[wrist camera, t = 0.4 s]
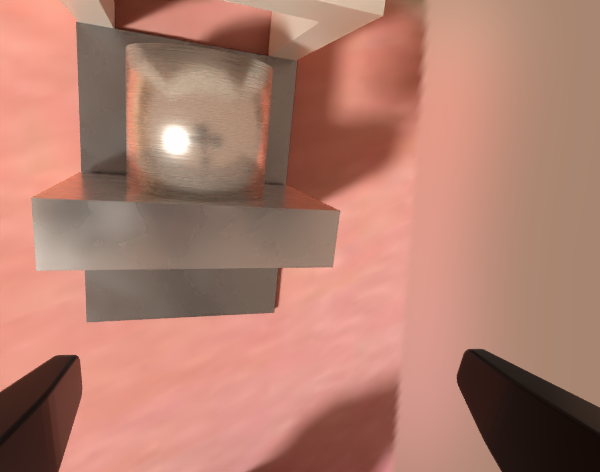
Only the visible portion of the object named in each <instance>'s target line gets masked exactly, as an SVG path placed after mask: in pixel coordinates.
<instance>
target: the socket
mask: <svg viewBox="0 0 600 472" xmlns="http://www.w3.org/2000/svg"><path fill="white" fill-rule="evenodd" d="M60 1H61V2H62V3H63V4H64V5H65V7H66V8H67V9H68V10H69V11H70V13H71V14H72V15H73V16H74V17H75V18H76V20H77V21H78V22H81V23H86V24H92V25H98V26H103V27H109V28H114V29H115V5H114V0H60ZM222 1H227V2H232V3H236V4H241V5H245V6H250V7H255V8H259V9H264V10H268V11H272V14H271V28H270V41H269V54H268V56H272V57H278V58H284V59H289V60H295V61H296V60H298V59H300V58H302V57H304V56H306V55H308V54H310V53H312V52H314V51H316V50H318V49H320V48H322V47H323V46H325V45H327V44H329V43H331V42H333V41H335V40H337V39H339V38H341V37H343V36H345V35H347V34H349V33H351V32H353V31H355V30H357V29H359V28H361V27H363V26H365V25H367V24H368V23H370V22H372V21H374V20H376V19H378V18H380V17H382V16H383V14H384V7H385V0H222Z"/></svg>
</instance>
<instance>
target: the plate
mask: <svg viewBox="0 0 600 472" xmlns="http://www.w3.org/2000/svg"><path fill="white" fill-rule="evenodd" d="M76 29H77V58H78V86H79V115H80V143H81V172H82V173H95V174H111V175H126V46H127V45H130V44H134V43H171V44H181V45H190V46H197V47H204V48H210V49H215V50H220V51H225V52H230V53H234V54H238V55H242V56H246V57H249V58H252V59H255V60H258V61H261V62H263V63H265V64H267V65H269V66H271V67H272V68H273V78H272V91H271V104H270V116H269V129H268V142H267V154H266V167H265V180H264V184H270V185H286V179H287V168H288V157H289V146H290V136H291V125H292V114H293V103H294V93H295V82H296V71H297V61H295V60H289V59H284V58H278V57H272V56H267V55H261V54H255V53H250V52H244V51H238V50H233V49H227V48H222V47H216V46H210V45H205V44H199V43H193V42H188V41H182V40H176V39H171V38H165V37H160V36H154V35H148V34H143V33H137V32H131V31H126V30H120V29H114V28H109V27H103V26H98V25H92V24H86V23H81V22H76ZM277 276H278V268H226V269H139V270H85V286H86V314H87V322H101V321H121V320H140V319H159V318H179V317H198V316H218V315H237V314H257V313H274V308H275V297H276V287H277Z"/></svg>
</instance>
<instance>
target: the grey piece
mask: <svg viewBox="0 0 600 472" xmlns="http://www.w3.org/2000/svg"><path fill="white" fill-rule="evenodd" d="M272 78H273V68H272V67H271V66H269V65H267V64H265V63H263V62H261V61H258V60H255V59H252V58H249V57H246V56H242V55H238V54H234V53H230V52H225V51H220V50H215V49H210V48H204V47H197V46H190V45H181V44H171V43H134V44H130V45H127V46H126V175H111V174H95V173H78V174H76V175H74V176H72V177H70V178H68V179H66V180H64V181H62V182H61V183H59V184H57V185H55V186H53V187H51V188H49V189H47V190H45V191H43V192H42V193H40V194H38V195H36V196H34V197H32V198H31V199H32V214H33V229H34V244H35V259H36V271H52V270H139V269H226V268H313V267H333V262H334V254H335V246H336V238H337V230H338V223H339V215H340V211H339V210H337V209H335V208H333V207H331V206H329V205H327V204H325V203H323V202H321V201H319V200H317V199H315V198H313V197H311V196H309V195H306V194H304V193H302V192H300V191H298V190H296V189H294V188H292V187H290V186H286V185H270V184H264V180H265V167H266V154H267V142H268V129H269V116H270V104H271V91H272Z"/></svg>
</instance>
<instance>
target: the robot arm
mask: <svg viewBox="0 0 600 472" xmlns="http://www.w3.org/2000/svg"><path fill="white" fill-rule="evenodd" d="M457 383H458V386H459V388H460V390H461V393H462V395H463V397H464V399H465V401H466V403H467V405H468V408H469V410H470V412H471V414H472V416H473V418H474V420H475V423H476V425H477V427H478V429H479V431H480V433H481V435H482V437H483V439H484V441H485V443H486V445H487V447H488V449H489V450H490V452H491V454H492V456H493V457H494V459H495V461H496V463H497V464H498V466H499V468H500V470H501V471H502V472H600V407H598V406H596V405H594V404H592V403H590V402H588V401H586V400H584V399H582V398H580V397H578V396H575V395H574V394H572V393H570V392H568V391H566V390H564V389H562V388H560V387H558V386H555V385H553V384H552V383H550V382H548V381H546V380H543V379H542V378H539V377H538V376H536V375H534V374H531V373H530V372H528V371H526V370H523V369H521V368H520V367H518V366H515V365H514V364H512V363H509V362H508V361H506V360H503V359H502V358H500V357H498V356H495V355H494V354H492V353H490V352H488V351H485V350H483V349H468V350H466V351H465V353H464V355H463V358H462V361H461V364H460V367H459V370H458V373H457ZM81 396H82V377H81V366H80V359H79V357H78V356H76V355H57V356H54V357H53V358H51V359H50V360H48V361H47V362H45V363H43V364H42V365H40V366H39V367H37V368H36V369H34V370H33V371H31V372H30V373H28V374H27V375H25V376H24V377H22V378H21V379H19V380H18V381H16V382H15V383H13V384H12V385H10V386H9V387H7V388H6V389H4V390H3V391H1V392H0V472H58V471H59V468H60V465H61V462H62V459H63V456H64V452H65V449H66V446H67V443H68V439H69V436H70V433H71V430H72V426H73V423H74V420H75V416H76V413H77V410H78V407H79V403H80V400H81Z"/></svg>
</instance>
